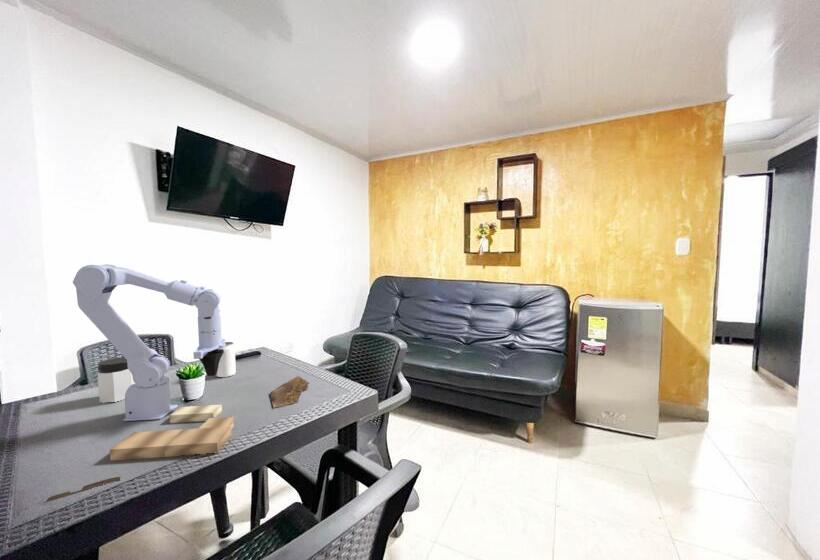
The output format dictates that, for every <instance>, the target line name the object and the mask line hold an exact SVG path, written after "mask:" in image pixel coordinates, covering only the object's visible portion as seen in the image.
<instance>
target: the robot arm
mask: <svg viewBox="0 0 820 560" xmlns="http://www.w3.org/2000/svg"><path fill="white" fill-rule="evenodd" d="M187 282H188V281H187V280H184V279H181V280H178V279H177V280H173V281H171V282H169V281H166V280H164V279H163V280H162V279H160V278H157V277H154V276H152V275H147V274H145V273H144V272H143V273H142V272H141V271H136V270H133V269H130V268H126V267H122V266H115V265H113V264H98V265H97V264H87V265H83V266H82V267H81V268H79V269H78V271H77V272H76V274H75V276H74V277H73V280H72V284H73V286H74V287H75V291H76V300H77V302H76V303H77V306H78V308H79V310H81V312H82V313H83V314H84V315H85V316H86V317H87V318H88V319H89V320H90V322H91V323H92V324H93V325H95V327H96V328H97V329H98V331H100V332H101V334H102V335H103V336H104V337H105V338H106V339H107V340H108V341H109V342H110V344H112V346H113V347H114V348H116V350H117V351H118V352H119V353H120V354H121V355H122V357H125V358H126V359H127V365H128V369H129V371H130V372H131V373H132V376H133V381H134V382H135V384H133V385H131V386H130V387H129V388H128V389H127V391H126V393H125V400H124V406H125V407H124V408H125V412H124V413H125V418H124V419H123V421H124V422H130V421H131V422H133V421H148V420H150V421H151V420H161V419H163V418H164V417H165V416H167V415H168V414H169V413H170V412H172V411H174V410H175V409H176V408H178V407H179V405H178V404H171V393H170V392H171V390H170V377H169V376H168V375H167V373H168V372H169V370H170V369H171V368H170V367H171V361H170V360H169V359H168V358H167V357H166V356H164V355H160V354H159V353H158V352H157V351H156V350H155V349H152V348H150V347H148V346H147V345H146V343H144V341H143V340H142V339H141V338H140V337H139V336H138V334H137V333H136V332H135V331H134V329H132V328H131V326H130V325H129V324H128V323H127V322H126V321H125V320H124V318H123V317H122V316H121V315H120V314H119V312H117V311H116V309H115V308H114V307H113V306H112V305H111V304H110V303H109V301H110V299H111V295H112V293H113V291H114V289H116V288H117V286H121V285H123V286H124V285H132V286H135V287H140V288H144V289H147V290H151V291H155V292H160V293H163V294H164V295H165V297H166V299H167V300H171V301H174V302H178V303H181V304H183V305H187V306H191V307H194V306H195V308H197V325H198V326H197V329H198V332H197V333H198V334H197V335H198V346H197V349H196V350H195V351H193V359H194V360H196V359H197V360H199V361H200V362H201V364H202V365H203V368H204V370H205V373H206V376H207V377H215V376H216V374H217V371H218V366H219V362H220V359H221V356H222V354H223V353H224V350H223V349H218V348H223V347H225V346H226V344H225V342H226V338H222V325H221V314H220V313H221V312H220V311H221V309H220V306H219V304H220V303H221V296H220V294H219V293H218V292H217V291H216V290H213V289H208V288H207V289H206V287H205V286H196V285H194V284H190V283H187Z"/></svg>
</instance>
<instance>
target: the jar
mask: <svg viewBox="0 0 820 560" xmlns="http://www.w3.org/2000/svg"><path fill="white" fill-rule="evenodd" d="M97 371H98V373H97V385H98V399H99V403H100V402H116V403H118V402H117V401H119V402H121V401H120V400H122V401H124V400H123V399H125V393H126V391H127V389H128V388H129V387H130V386H131V385H133V384H136V383H135V382H134V381H133V376H132V373H131V372H130V371H129V369H128V365H127V359H126V358H125V357H124V356H121V357H115V358H110V359H106V360H102V361H100V362H99V363H98V364H97Z"/></svg>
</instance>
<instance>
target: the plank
mask: <svg viewBox="0 0 820 560" xmlns="http://www.w3.org/2000/svg"><path fill="white" fill-rule="evenodd" d="M222 406H223V405H222V404H207V405H190V406H180V407H177V409H176V410H174V411H173V412H172V413H170V414H169V415H168V416H169V423H170V424H176V423H189V422H190V423H192V422H193V423H194V422H206V421H207V420H208V419H209V418H218V417H219V416H220V415H221V413H222V412H223V407H222Z"/></svg>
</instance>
